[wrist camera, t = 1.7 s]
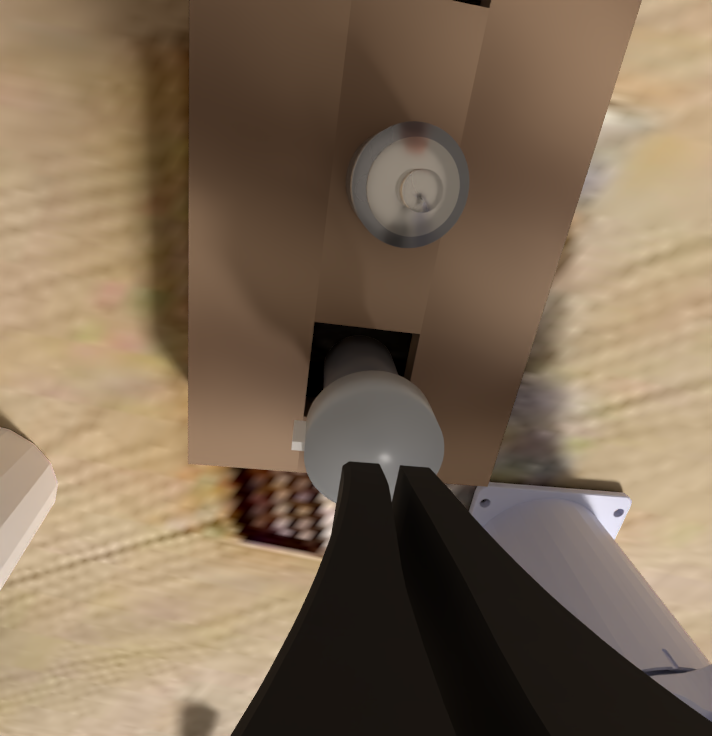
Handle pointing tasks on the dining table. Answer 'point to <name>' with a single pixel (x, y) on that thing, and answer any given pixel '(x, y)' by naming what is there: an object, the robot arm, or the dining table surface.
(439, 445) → the knob grey
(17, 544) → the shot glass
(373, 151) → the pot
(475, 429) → the mount
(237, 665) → the dining table surface
